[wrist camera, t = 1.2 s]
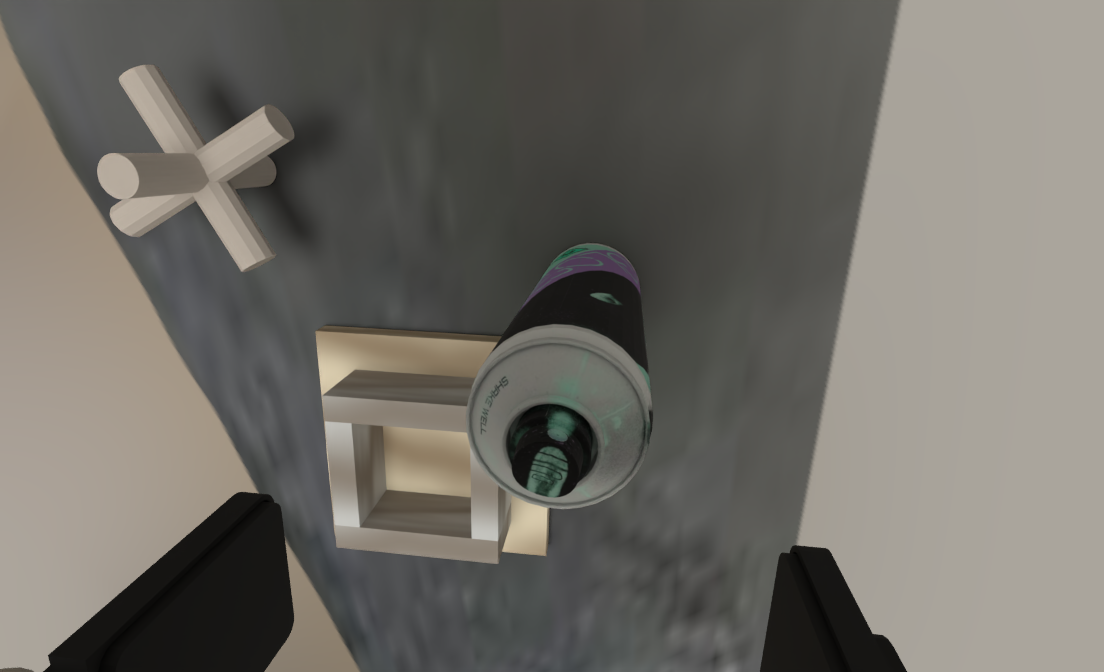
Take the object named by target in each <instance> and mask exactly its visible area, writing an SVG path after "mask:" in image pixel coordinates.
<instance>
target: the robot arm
mask: <svg viewBox="0 0 1104 672" xmlns="http://www.w3.org/2000/svg"><path fill="white" fill-rule="evenodd" d="M293 623H294V612H293V603H292V595H291V588H290V578H289V570H288V562H287V553H286V545H285V537H284V528H283V520H282V512H281V507H280V505H279V504H277V503H274V500H273V498H272V497H271V496H270V495H268V494H258V493H248V492H239V493H236V494H235V495H233V496H232V497H231V498H230V499H229V500H227V501H226V503H224V504H223V505H222V506H221V507H219V508H218V509H217V510H216V511H215V512H214V513H213V514H211V516H209V517H208V518H207V519H206V520H204V521H203V522H202V523H201V524H200V525H199V526H198V527H196V528H195V529H194V530H193V531H192V532H191V533H190V534H188V535H187V536H186V537H185V538H183V539H182V540H181V541H180V542H179V543H178V544H177V545H175V546H174V547H173V548H172V549H171V550H170V551H168V552H167V553H166V554H165V555H164V556H163V557H162V558H160V559H159V560H158V561H157V562H156V563H155V564H153V565H152V566H151V567H150V568H149V569H148V570H146V571H145V572H144V573H143V574H142V575H141V576H140V577H138V578H137V579H136V580H135V581H134V582H133V583H131V584H130V585H129V586H128V587H127V588H126V589H124V590H123V591H122V592H121V593H120V594H119V595H117V596H116V597H115V598H114V599H113V600H112V601H111V602H109V603H108V604H107V605H106V606H105V607H104V608H102V609H101V610H100V611H99V612H98V613H97V614H95V615H94V616H93V617H92V618H91V619H90V620H89V621H87V622H86V623H85V624H84V625H83V626H82V627H80V628H79V629H78V630H77V631H76V632H75V633H73V634H72V635H71V636H70V637H69V638H68V639H67V640H65V641H64V642H63V643H62V644H61V645H60V646H59V647H57V648H56V649H55V650H54V651H53V652H51V653H50V654H49V655H48V657H49V661H50V666H49V667H48V668H47V669H46V670H45V671H43V672H264V671H265V670H266V668H267V667H268V665H269V664H270V663H271V661H272V659H273V658H274V657H275V655H276V654H277V652H278V651H279V650H280V648H281V647H282V646H283V644H284V643H285V641H286V640H287V638H288V637H289V635H290V633H291V630H292V627H293ZM0 672H34V671H32V670H29V669H24V668H4V669H0ZM760 672H907V671H906V669H905V667H904V665H903V664H902V662H901V660H900V658H899V656H898V654H897V652H896V651H895V649H894V647H893V646H892V644H891V643H890V641H889V640H888V639H887V638H886V637H884V636H883V635H876V634H872V632H871V630H870V628H869V626H868V624H867V622H866V620H865V618H864V616H863V614H862V612H861V611H860V608H859V607H858V605H857V603H856V601H855V599H854V597H853V595H852V593H851V591H850V589H849V587H848V585H847V583H846V581H845V579H844V577H843V576H842V573H841V571H840V570H839V568H838V566H837V564H836V562H835V560H834V558H833V556H832V554H831V552H830V551H829V550H828V549H826V548H817V547H807V546H797V545H794V546H792V548H791V550H790V553H781V554H780V556H779V560H778V566H777V572H776V578H775V584H774V590H773V596H772V602H771V608H770V614H769V620H768V626H767V632H766V638H765V644H764V650H763V656H762V662H761V668H760Z"/></svg>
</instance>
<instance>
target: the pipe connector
mask: <svg viewBox="0 0 1104 672" xmlns="http://www.w3.org/2000/svg"><path fill="white" fill-rule="evenodd" d="M119 81H120V84H121V85H122V87H123V88H124V90H125V92H126V93H127V95H128V96H129V98H130V99H131V101H132V102H133V104H134V105H135V107H136V109H137V110H138V112H139V113H140V115H141V116H142V118H143V119H144V121H145V123H146V124H147V126H148V127H149V129H150V130H151V132H152V133H153V135H154V136H155V138H156V140H157V141H158V143H159V144H160V146H161V147H162V149H163V150H164V152H165V153H112V154H107V155H105V156H104V157H103V158H102V159H101V160H100V162H99V164H98V169H97V172H98V178H99V182H100V183H101V185H102V187H103V188H104V189H105V191H106V192H107V193H108V194H110V195H111V196H113V197H115V198H118V199H123V200H122V201H120V202H119V203H117V204H116V205H114V206H113V207H111V210H110V217H111V219H112V221H113V223H114V224H115V225H116V226H117V227H118V229H119V230H120V231H122V232H124V233H125V234H127V235H129V236H133V237H140V236H142V235H143V234H145V233H146V232H148V231H150V230H151V229H153V228H154V227H156V226H157V225H159V224H161V223H162V222H164V221H165V220H167V219H168V218H170V217H172V216H173V215H175V214H176V213H178V212H179V211H181V210H183V209H184V208H186V207H187V206H189V205H190V204H192V203H194V202H195V201H196V202H197V203H198V205H199V206H200V208H201V209H202V211H203V212H204V214H205V215H206V217H207V219H208V220H209V222H210V223H211V225H212V226H213V228H214V229H215V231H216V232H217V234H218V236H219V237H220V239H221V240H222V242H223V243H224V245H225V246H226V248H227V250H228V251H229V253H230V254H231V256H232V257H233V259H234V260H235V262H236V263H237V265H238V267H239V268H240V270H241V271H242V272H246V271H249V270H251V269H254V268H256V267H258V266H260V265H262V264H264V263H266V262H268V261H270V260H271V259H273V258H275V257H276V254H275V252H274V251H273V249H272V247H271V246H270V244H269V243H268V241H267V239H266V238H265V236H264V235H263V233H262V231H261V230H260V228H259V227H258V225H257V223H256V222H255V220H254V219H253V217H252V215H251V214H250V212H249V211H248V209H247V208H246V206H245V204H244V203H243V201H242V200H241V198H240V196H239V195H238V193H237V192H236V190H235V189H241V188H252V187H263V186H268V185H270V184H272V183H273V182H274V180H275V178H276V167H275V164H274V162H273V161H272V160H271V158H269V157H268V156H267V155H269V154H270V153H272V152H274V151H275V150H277V149H278V148H280V147H281V146H283V145H285V144H286V143H288V142H289V141H291V140H292V139H294V131H293V129H292V126H291V124H290V122H289V121H288V120H287V118H286V117H285V116H284V114H283V113H282V112H280V111H279V110H278V109H277V108H276V107H274V106H272V105H270V104H268V105H265V106H263V107H262V108H260V109H259V110H257V111H256V112H254V113H253V114H251V115H250V116H248V117H247V118H245V119H244V120H242V121H241V122H239V123H238V124H236V125H235V126H233V127H232V128H230V129H229V130H227V131H226V132H224V133H223V134H221V135H220V136H218V137H217V138H215V139H214V140H212V141H211V142H209V143H208V144H206V142H205V141H204V139H203V137H202V136H201V134H200V133H199V131H198V129H197V128H196V126H195V125H194V123H193V122H192V120H191V118H190V117H189V115H188V114H187V112H186V110H185V109H184V107H183V106H182V104H181V102H180V101H179V99H178V98H177V96H176V94H175V93H174V91H173V90H172V88H171V86H170V85H169V83H168V82H167V80H166V79H165V77H164V75H163V74H162V72H161V71H160V69H159V68H158V67H156V66H154V65H142V66H138V67H134V68H131V69H130V70H128V71H126V72H124V73H123V74H122V75H121V76H120V77H119Z"/></svg>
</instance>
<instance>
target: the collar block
mask: <svg viewBox="0 0 1104 672" xmlns="http://www.w3.org/2000/svg"><path fill="white" fill-rule="evenodd" d="M501 337H502V336H488V335H472V334H456V333H440V332H424V331H408V330H391V329H375V328H359V327H343V326H327V325H325V326H323V327H322V328H320V329H318V330H316V342H317V352H318V362H319V373H320V383H321V394H322V404H323V415H324V425H325V436H326V446H327V457H328V467H329V478H330V488H331V499H332V509H333V519H334V530H335V535H336V545H337V547H339V548H348V549H358V550H368V551H377V552H387V553H397V554H407V555H416V556H426V557H436V558H445V559H455V560H465V561H474V562H484V563H494V564H498V563H499V559H500V556H501V553H502V552H512V553H522V554H532V555H542V556H546V553H547V548H548V538H549V508H545V507H542V506H538V505H534V504H530V503H527V502H525V501H523V500H521V499H519V498H516V497H514V496H512V495H511V494H509V493H508V492H506V491H505V490H503V489H502V488H501V487H499V486H498V485H497V484H496V483H495V482H494V481H493V480H492V479H491V478H490V477H489V476H488V475H487V474H486V473H485V471H484V470H483V469H482V467H481V466H480V464H479V463H478V462H477V460H476V458H475V456H474V453H473V451H472V449H471V447H470V443H469V439H468V435H467V431H466V410H467V405H468V399H469V396H470V394H471V390H472V385H473V383H474V380H475V378H476V376H477V373H478V371H479V369H480V368H481V366H482V365H483V363H484V362H485V361H486V359H487V358H488V356H489V355H490V353H491V352H492V350H493V349H494V347H495V346H496V344H497V343H498V341H499V340H500V338H501Z"/></svg>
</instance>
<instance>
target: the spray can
mask: <svg viewBox="0 0 1104 672" xmlns="http://www.w3.org/2000/svg"><path fill="white" fill-rule="evenodd" d="M652 422H653V408H652V399H651V389H650V379H649V369H648V360H647V350H646V340H645V330H644V321H643V311H642V301H641V291H640V284H639V279H638V276H637V274H636V271H635V269H634V268H633V266H632V264H631V263H630V261H629V260H628V259H627V258H626V257H625V256H624V255H623V254H621V253H620V252H619V251H617V250H616V249H614V248H611V247H609V246H607V245H603V244H598V243H585V244H579V245H576V246H574V247H571V248H569V249H567V250H566V251H564V252H562V253H561V254H560V255H559V256H558V257H557V258H556V259H554V260H553V262H552V263H551V265H550V266H549V268H548V269H547V270H546V272H545V273H544V275H543V276H542V278H541V279H540V281H539V282H538V284H537V285H536V287H535V288H534V290H533V291H532V293H531V294H530V296H529V297H528V298H527V300H526V301H525V303H524V304H523V306H522V307H521V309H520V310H519V312H518V313H517V315H516V316H515V318H514V319H513V321H512V322H511V324H510V325H509V327H508V328H507V329H506V331H505V332H504V334H503V335H502V337H501V338H500V340H499V341H498V343H497V344H496V346H495V347H494V349H493V350H492V352H491V353H490V355H489V356H488V358H487V359H486V361H485V362H484V363H483V365H482V366H481V368H480V369H479V371H478V373H477V376H476V378H475V380H474V383H473V385H472V390H471V394H470V396H469V399H468V405H467V410H466V431H467V435H468V439H469V443H470V447H471V449H472V451H473V453H474V456H475V458H476V460H477V462H478V463H479V464H480V466H481V467H482V469H483V470H484V471H485V473H486V474H487V475H488V476H489V477H490V478H491V479H492V480H493V481H494V482H495V483H496V484H497V485H498V486H499V487H501V488H502V489H503V490H505V491H506V492H508V493H509V494H511V495H512V496H514V497H516V498H519V499H521V500H523V501H525V502H527V503H530V504H534V505H538V506H542V507H545V508H556V509H570V508H581V507H584V506H588V505H592V504H595V503H598V502H600V501H602V500H604V499H606V498H608V497H610V496H612V495H614V494H615V493H616V492H618V491H619V490H620V489H622V488H623V487H624V486H626V484H627V483H628V482H629V481H630V480H631V479H632V478H633V476H634V475H635V474H636V473H637V471H638V469H639V468H640V466H641V464H642V462H643V460H644V458H645V455H646V452H647V448H648V445H649V439H650V435H651V432H652Z"/></svg>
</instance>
